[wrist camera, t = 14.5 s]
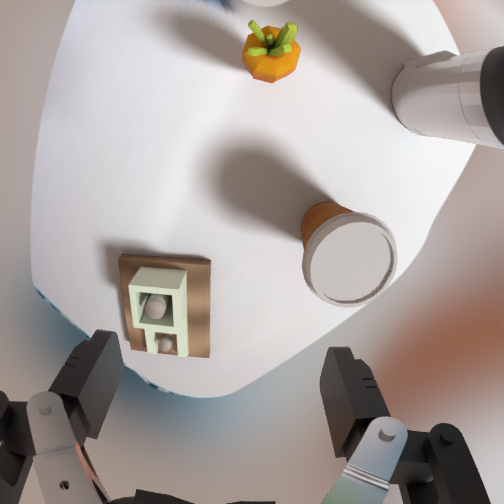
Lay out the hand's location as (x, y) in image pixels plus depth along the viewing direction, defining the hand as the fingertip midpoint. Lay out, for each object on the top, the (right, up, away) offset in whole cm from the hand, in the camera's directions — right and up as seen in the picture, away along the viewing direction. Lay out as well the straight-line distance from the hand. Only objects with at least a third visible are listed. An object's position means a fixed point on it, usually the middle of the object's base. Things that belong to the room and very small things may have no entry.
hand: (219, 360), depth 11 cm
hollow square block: (-10, -4, +30) cm, 32 cm away
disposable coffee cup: (+10, +7, +28) cm, 31 cm away
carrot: (+3, +24, +21) cm, 32 cm away
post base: (-11, -4, +32) cm, 34 cm away
